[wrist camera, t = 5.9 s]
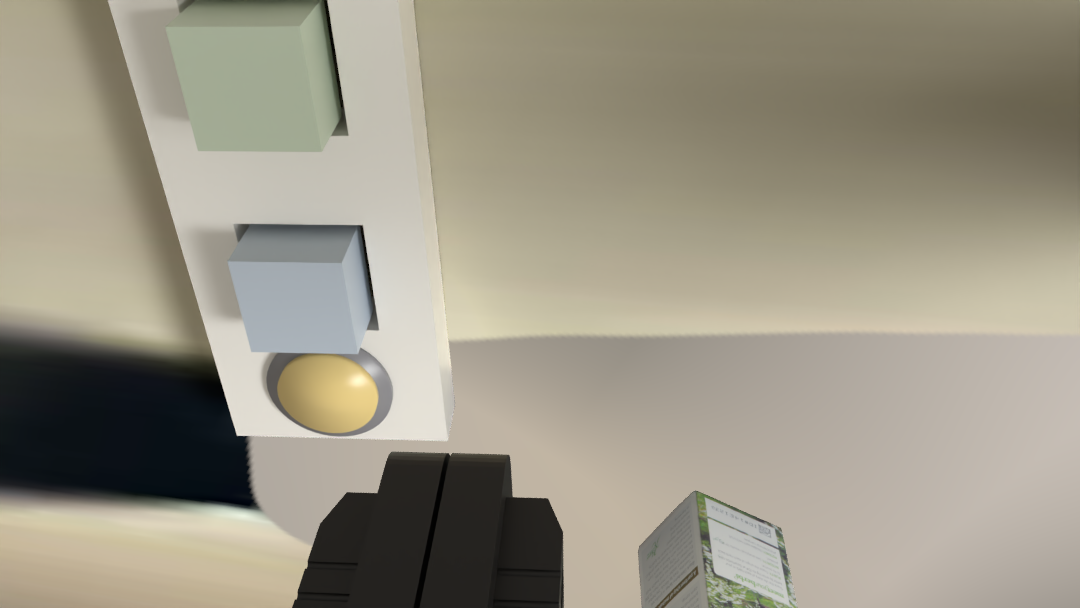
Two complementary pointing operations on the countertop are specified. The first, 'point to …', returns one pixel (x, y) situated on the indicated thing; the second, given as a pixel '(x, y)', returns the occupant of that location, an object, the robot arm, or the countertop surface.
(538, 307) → the countertop surface
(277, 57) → the sage button
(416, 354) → the button panel
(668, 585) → the syrup box
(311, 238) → the slate button
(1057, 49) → the countertop surface
